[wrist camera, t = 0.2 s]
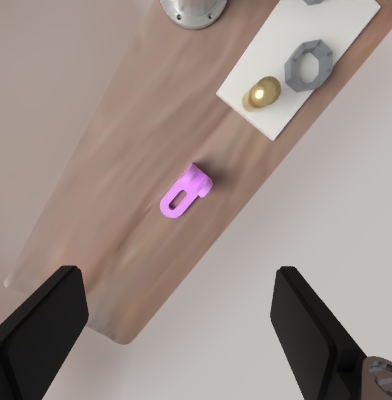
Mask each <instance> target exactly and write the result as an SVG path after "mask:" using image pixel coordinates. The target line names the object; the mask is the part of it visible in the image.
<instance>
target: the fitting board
mask: <svg viewBox="0 0 392 400" xmlns="http://www.w3.org/2000/svg"><path fill="white" fill-rule="evenodd" d="M379 9H380V5H379V4H378V3H377V2H376V1H375V0H280V1H279V3H278V4H277V6H276V7H275V8H274V10H273V11H272V13H271V14H270V16H269V17H268V19H267V20H266V22H265V23H264V25H263V26H262V27H261V29H260V30H259V32H258V33H257V35H256V36H255V38H254V39H253V41H252V42H251V44H250V45H249V46H248V48H247V49H246V51H245V52H244V54H243V55H242V57H241V58H240V60H239V61H238V63H237V64H236V65H235V67H234V68H233V70H232V71H231V73H230V74H229V76H228V77H227V79H226V80H225V81H224V83H223V84H222V86H221V87H220V89H219V90H218V92H217V93H216V95H218V96H219V97H220V98H221V99H222V100H224V101H225V102H226V103H227V104H228V105H230V106H231V107H232V108H233V109H234V110H236V111H237V112H238V113H239V114H240V115H242V116H243V117H244V118H245V119H246V120H248V121H249V122H250V123H251V124H252V125H254V126H255V127H256V128H257V129H258V130H260V131H261V132H262V133H263V134H264V135H266V136H267V137H268V138H269V139H271V140H274V139H275V138H276V137H277V135H278V134H279V133H280V132H281V130H282V129H283V128H284V127H285V125H286V124H287V123H288V122H289V121H290V119H291V118H292V117H293V116H294V114H295V113H296V112H297V111H298V109H299V108H300V107H301V106H302V104H303V103H304V102H305V101H306V99H307V98H308V97H309V96H310V94H311V93H312V92H313V91H314V89H316V88H318V87H320V86H321V85H322V84H323V82H324V81H325V80H326V79H327V77H328V76H329V75H330V74H331V72H332V67H333V66H334V65H335V63H336V62H337V61H338V60H339V58H340V57H341V56H342V55H343V53H344V52H345V51H346V50H347V48H348V47H349V46H350V45H351V43H352V42H353V41H354V40H355V38H356V37H357V36H358V35H359V33H360V32H361V31H362V30H363V28H364V27H365V26H366V25H367V23H368V22H369V21H370V20H371V19H372V17H373V16H374V15H375V14H376V12H377V11H378V10H379ZM267 76H272V77H275V78H276V79H277V80H278V81H279V83H280V85H281V93H280V96H279V98H278V99H277V100H276V101H275V102H274V103H273V104H270V105H268V106H266V107H264V108H261V109H259V110H257V111H255V112H248V111H246V110H245V109H244V108H243V106H242V98H243V96H244V94H245V93H246V92H247V91H248V90H249V89H251V88H252V87H253V86H254V85H255V84H256V83H257V82H259V81H260V80H261V79H262V78H264V77H267Z"/></svg>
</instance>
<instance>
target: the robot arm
mask: <svg viewBox="0 0 392 400" xmlns="http://www.w3.org/2000/svg"><path fill="white" fill-rule="evenodd" d="M160 2H161V5H162V7H163V9H164V11H165V13H166V14H167V15H168V17H169V18H170V19H171V20H172V21H173V22H174V23H175V24H177V25H179V26H180V27H182V28H186V29H190V30H197V29H202V28H205V27H207V26H209V25H210V24H212V23H213V22H214V21H215V20H216V19H217V18H218V17H219V16H220V15H221V13H222V12H223V10H224V8H225V6H226V3H227V0H160ZM209 18H211V19H209ZM178 19H181V20H178ZM88 317H89V313H88V307H87V301H86V296H85V290H84V284H83V279H82V273H81V270H80V269H78V267H77V266H61V267H60V268H59V269H58V270H57V271H56V272H55V273H54V274H53V275H52V276H51V277H49V278H48V279H47V280H46V281H45V282H44V283H43V284H42V285H41V286H40V287H39V288H38V289H37V290H36V291H35V292H34V293H33V294H32V295H31V296H30V297H29V298H28V299H27V300H26V301H25V302H23V304H21V306H19V307H18V308H17V309H16V310H15V311H14V312H13V313H12V314H11V315H10V316H9V317H8V318H7V319H6V320H5V321H4V322H3V323H2V324H1V325H0V400H42V398H43V397H44V395H45V393H46V392H47V390H48V388H49V386H50V385H51V383H52V381H53V380H54V378H55V376H56V374H57V373H58V371H59V369H60V368H61V366H62V364H63V362H64V361H65V359H66V357H67V356H68V354H69V352H70V350H71V349H72V347H73V345H74V344H75V342H76V340H77V338H78V337H79V335H80V333H81V332H82V330H83V328H84V326H85V325H86V323H87V321H88ZM270 317H271V322H272V325H273V327H274V329H275V332H276V334H277V336H278V338H279V341H280V343H281V346H282V348H283V350H284V353H285V355H286V357H287V360H288V362H289V364H290V366H291V369H292V371H293V374H294V376H295V378H296V381H297V383H298V385H299V388H300V390H301V393H302V395H303V397H304V400H392V362H391V361H389V360H386V359H384V358H381V357H376V356H372V357H367V356H366V355H365V353H364V352H363V351H362V350H361V349H360V347H359V346H358V345H357V343H356V342H355V341H354V340H353V338H352V337H351V336H350V335H349V334H348V332H347V331H346V330H345V328H344V327H343V326H342V325H341V323H340V322H339V321H338V320H337V319H336V317H335V316H334V315H333V313H332V312H331V311H330V310H329V309H328V307H327V306H326V305H325V303H324V302H323V301H322V300H321V299H320V298H319V297H318V295H317V294H316V293H315V292H314V290H313V289H312V288H311V287H310V285H309V284H308V283H307V282H306V280H305V279H304V278H303V276H302V275H301V274H300V273H299V271H298V270H297V269H296V268H295V267H293V266H292V267H291V266H282V267H281V268H280V270H277V272H276V279H275V285H274V292H273V299H272V306H271V313H270Z"/></svg>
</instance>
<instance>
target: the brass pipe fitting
mask: <svg viewBox="0 0 392 400" xmlns="http://www.w3.org/2000/svg"><path fill="white" fill-rule="evenodd" d="M280 93H281V85H280V83H279V81H278V80H277V79H276V78H275V77H272V76H267V77H264V78H262V79H261V80H260V81H259V82H257V83H256V84H255V85H254V86H253V87H252V88H251V89H249V90H248V91H247V92H246V93H245V94H244V96H243V98H242V106H243V108H244V109H245V110H246V111H248V112H255V111H257V110H259V109H261V108H264V107H266V106H268V105H270V104H273V103H274V102H275V101H276V100H277V99H278V98H279V96H280Z"/></svg>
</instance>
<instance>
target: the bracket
mask: <svg viewBox="0 0 392 400" xmlns="http://www.w3.org/2000/svg"><path fill="white" fill-rule="evenodd" d="M212 186H213V182H212V180H211V178H209V177H208V176H207V175H206V174H205V173H203V172H202V171H201V170H200V169H199V168H198V167H196V166H195V165H194V164H193V163H191V164H190V166H189V167H188V168H187V169H186V170H185V172H184V173H183V174H182V175H181V176H180V178H179V179H178V180H177V181H176V183H175V184H174V185H173V186H172V187H171V189H170V190H169V191H168V192H167V193H166V195H165V196H164V197H163V199H162V200H161V203H160V209H161V211H162V213H163V214H164V215H166V216H167V217H170V218H175V217H178V216H180V215H181V214H182V213H183V212H184V211H185V210H186V209H187V207H188V206H189V205H190V204H191V203H192V202H193V200H194V199H195V198H196V197H197V196H198V195H199V196H200V197H201V198H202V197H204V196H205V195H206V194H207V193H208V192H209V190H210V189H211V188H212ZM181 190H185V191H186V192H187V195H186V196H185V197H184V198H183V200H182V201H181V202H180V203H179V204H178V205H177V207H176V208H171V207H170V206H169V203H170V202H171V201H172V200H173V199H174V197H175V196H176V195H177V194H178V193H179V192H180V191H181Z"/></svg>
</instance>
